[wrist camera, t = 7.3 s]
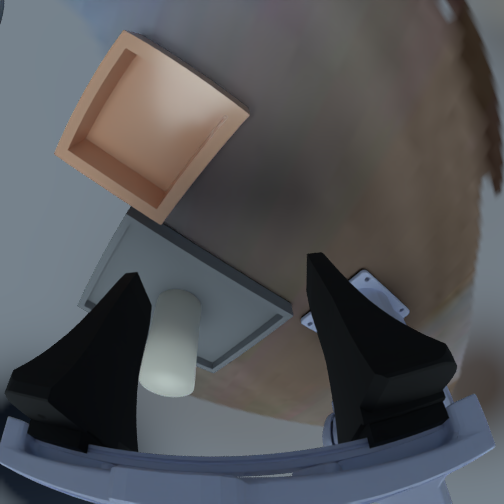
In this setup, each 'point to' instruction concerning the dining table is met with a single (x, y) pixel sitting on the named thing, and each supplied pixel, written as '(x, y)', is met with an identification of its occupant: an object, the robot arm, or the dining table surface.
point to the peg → (172, 345)
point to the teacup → (1, 9)
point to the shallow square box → (148, 125)
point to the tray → (190, 287)
